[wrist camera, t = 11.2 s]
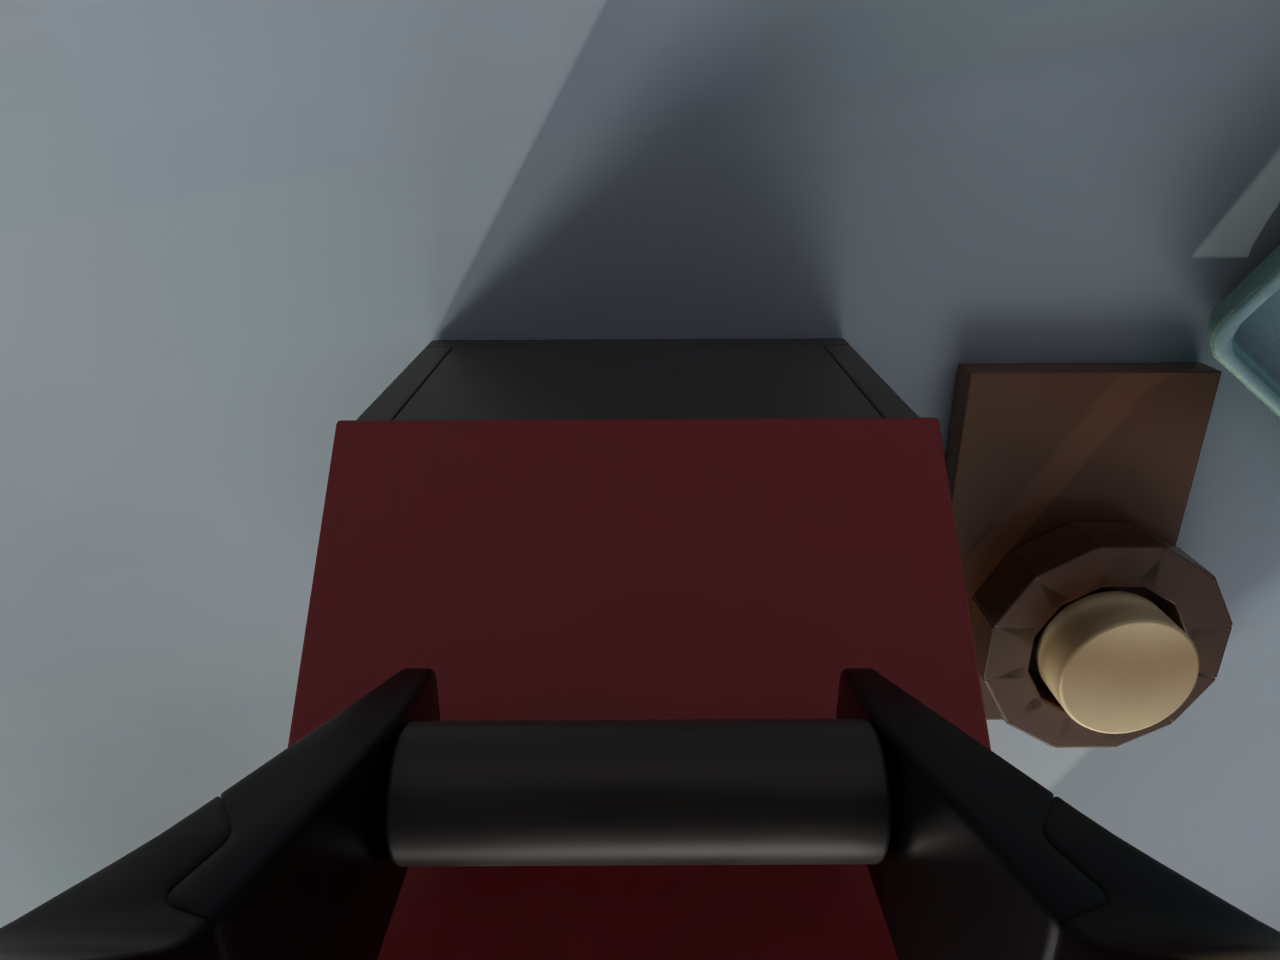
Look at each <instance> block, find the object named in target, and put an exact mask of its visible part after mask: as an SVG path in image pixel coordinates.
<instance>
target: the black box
mask: <svg viewBox="0 0 1280 960" xmlns="http://www.w3.org/2000/svg"><path fill="white" fill-rule="evenodd" d="M771 418H919V417H918V416H917V415H916V414H915V413H914V412H913V411H912V410H911V409H910V408H909V407H908V405H907V404H906V403H905V402H904V401H903V400H902V399H901V398H900V397H899V396H898V395H897V394H896V393H895V392H894V391H893V390H892V389H891V388H890V387H889V386H888V385H887V384H886V383H885V381H884V380H883V379H882V378H881V377H880V376H879V375H878V374H877V373H876V372H875V371H874V370H873V369H872V368H871V367H870V366H869V365H868V364H867V363H866V362H865V361H864V360H863V359H862V358H861V356H860V355H859V354H858V353H857V352H856V351H855V350H854V349H853V348H852V347H851V346H850V345H849V344H848V343H847V342H846V341H845V339H655V340H451V341H431V342H430V343H429V345H428V346H427V347H426V348H425V349H424V350H423V351H422V352H421V353H420V354H419V355H418V356H417V357H416V358H415V359H414V360H413V361H412V362H411V363H410V364H409V365H408V367H407V368H406V369H405V370H404V371H403V372H402V373H401V374H400V375H399V376H398V377H397V378H396V379H395V380H394V381H393V382H392V383H391V384H390V385H389V386H388V387H387V389H386V390H385V391H384V392H383V393H382V394H381V395H380V396H379V397H378V398H377V399H376V400H375V401H374V402H373V403H372V404H371V405H370V406H369V407H368V408H367V409H366V410H365V412H364V413H363V414H362V415H361V416H360V417H359V418H358V419H357V420H356V421H361V420H566V419H771Z"/></svg>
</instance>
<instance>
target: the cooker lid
mask: <svg viewBox="0 0 1280 960" xmlns="http://www.w3.org/2000/svg"><path fill="white" fill-rule="evenodd" d="M405 668H430V669H432V670H433V671H434V672H435V674H436V679H437V689H438V699H439V710H440V721H411V722H409V723H407V724H406V725H405V726H404V727H403V728H402V730H401V732H400V734H399V736H398V738H397V741H396V744H395V747H394V750H393V753H392V758H391V762H390V767H389V772H388V779H387V787H386V798H385V831H386V840H387V845H388V850H389V854H390V857H391V859H392V861H393V862H394V863H395V864H396V865H399V866H402V867H408V870H407V873H406V876H405V879H404V882H403V885H402V888H401V890H400V893H399V896H398V899H397V902H396V905H395V908H394V911H393V914H392V917H391V920H390V923H389V926H388V929H387V932H386V935H385V938H384V941H383V944H382V947H381V950H380V952H379V955H378V958H377V960H898V958H897V955H896V952H895V949H894V946H893V943H892V940H891V937H890V934H889V931H888V928H887V925H886V922H885V919H884V916H883V913H882V910H881V907H880V904H879V901H878V898H877V895H876V892H875V889H874V886H873V883H872V880H871V877H870V874H869V871H868V868H867V865H866V864H878V863H880V862H882V861H883V860H884V858H885V857H886V854H887V851H888V847H889V841H890V834H891V816H892V812H891V792H890V783H889V775H888V769H887V764H886V759H885V755H884V751H883V748H882V744H881V742H880V739H879V736H878V734H877V732H876V729H875V728H874V726H873V725H872V723H871V722H869V721H868V720H865V719H862V718H856V719H836V711H837V701H838V690H839V680H840V675H841V672H842V671H843V670H844V669H846V668H871V669H873V670H875V671H877V672H878V673H880V674H881V675H882V676H884V677H885V678H887V679H888V680H890V681H891V682H893V683H894V684H895V685H897V686H898V687H900V688H901V689H903V690H904V691H906V692H907V693H908V694H910V695H911V696H913V697H914V698H916V699H917V700H919V701H920V702H921V703H923V704H924V705H926V706H927V707H929V708H930V709H932V710H933V711H934V712H936V713H937V714H939V715H940V716H942V717H943V718H945V719H946V720H947V721H949V722H950V723H952V724H953V725H955V726H956V727H958V728H959V729H960V730H962V731H963V732H965V733H966V734H968V735H969V736H971V737H972V738H973V739H975V740H976V741H978V742H979V743H981V744H982V745H984V746H985V747H986V748H988V749H989V750H991V748H990V741H989V735H988V729H987V722H986V716H985V710H984V703H983V697H982V691H981V684H980V678H979V672H978V665H977V659H976V653H975V646H974V640H973V634H972V627H971V621H970V615H969V608H968V602H967V596H966V589H965V583H964V577H963V571H962V564H961V558H960V552H959V545H958V539H957V533H956V526H955V520H954V514H953V507H952V501H951V495H950V488H949V482H948V476H947V469H946V463H945V457H944V450H943V444H942V438H941V431H940V425H939V420H938V419H937V418H771V419H566V420H361V421H338V422H337V424H336V431H335V438H334V444H333V451H332V457H331V464H330V471H329V477H328V484H327V491H326V497H325V504H324V511H323V517H322V524H321V531H320V537H319V544H318V551H317V557H316V564H315V571H314V577H313V584H312V591H311V597H310V604H309V611H308V617H307V624H306V630H305V637H304V644H303V650H302V657H301V664H300V670H299V677H298V684H297V690H296V697H295V704H294V710H293V717H292V724H291V730H290V737H289V744H288V748H289V747H290V746H292V745H293V744H294V743H296V742H297V741H299V740H300V739H302V738H303V737H305V736H306V735H308V734H309V733H310V732H312V731H313V730H315V729H316V728H318V727H319V726H321V725H322V724H324V723H325V722H327V721H328V720H329V719H331V718H332V717H334V716H335V715H337V714H338V713H340V712H341V711H343V710H344V709H345V708H347V707H348V706H350V705H351V704H353V703H354V702H356V701H357V700H359V699H360V698H361V697H363V696H364V695H366V694H367V693H369V692H370V691H372V690H373V689H375V688H376V687H378V686H379V685H380V684H382V683H383V682H385V681H386V680H388V679H389V678H391V677H392V676H394V675H395V674H396V673H398V672H399V671H401V670H403V669H405Z"/></svg>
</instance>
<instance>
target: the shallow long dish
mask: <svg viewBox="0 0 1280 960" xmlns="http://www.w3.org/2000/svg"><path fill="white" fill-rule="evenodd" d="M1208 340H1209V345H1210V349H1211V352H1212V354H1213V356H1214V358H1215V359H1216V360H1217V361H1219V362H1220V363H1221V364H1222V365H1223V366H1224V367H1225V368H1227V369H1228V370H1229V371H1230V372H1231V373H1232V374H1233V375H1234V376H1235V377H1237V378H1238V379H1239V380H1240V381H1241V382H1242V383H1243V384H1244V385H1245V386H1246V387H1247V388H1248V389H1249V390H1250V391H1252V392H1253V393H1254V394H1255V395H1256V396H1257V397H1258V398H1259V399H1260V400H1261V401H1262V402H1263V403H1265V404H1266V405H1267V406H1268V407H1269V408H1270V409H1271V410H1272V411H1273V412H1274V413H1275V414H1277V415H1278V416H1279V417H1280V244H1279V245H1278V246H1277V247H1276V248H1275V249H1274V250H1273V251H1272V252H1271V253H1270V254H1269V255H1268V256H1267V257H1266V258H1265V259H1264V260H1263V261H1262V262H1261V263H1260V264H1259V265H1257V266H1256V267H1255V268H1254V269H1253V270H1252V271H1251V272H1250V273H1249V274H1248V275H1247V276H1246V277H1245V278H1244V279H1243V280H1242V281H1241V282H1240V283H1239V284H1238V285H1237V286H1236V287H1235V288H1234V289H1233V290H1232V291H1231V292H1230V293H1229V294H1228V295H1227V296H1226V297H1225V298H1224V299H1223V300H1222V301H1221V302H1220V303H1219V304H1218V305H1217V306H1216V308H1215V309H1214V311H1213V312H1212V314H1211V315H1210V318H1209V322H1208Z"/></svg>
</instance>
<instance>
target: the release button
mask: <svg viewBox="0 0 1280 960" xmlns="http://www.w3.org/2000/svg"><path fill="white" fill-rule="evenodd" d="M1036 663H1037V668H1038V671H1039V674H1040V676H1041V678H1042V679H1043V681H1044V683H1045V684H1046V685H1047V687H1048V688H1049V689H1050V691H1051V692H1052V694H1053V695H1054V696H1055V698H1056V699H1057V700H1058V702H1059V703H1060V705H1061V706H1062V707H1063V709H1064V710H1065V711H1066V713H1067V714H1068V715H1069V716H1070V717H1071V718H1072V719H1073V720H1074V721H1075V722H1077V723H1078V724H1080V725H1082V726H1084V727H1086V728H1088V729H1090V730H1094V731H1097V732H1102V733H1111V734H1119V733H1129V732H1134V731H1138V730H1142V729H1144V728H1147V727H1150V726H1152V725H1154V724H1156V723H1158V722H1160V721H1162V720H1163V719H1165V718H1167V717H1168V716H1169V715H1171V714H1172V713H1173V712H1175V711H1176V710H1177V709H1178V708H1179V707H1180V706H1181V705H1182V704H1183V703H1184V702H1185V700H1186V699H1187V698H1188V696H1189V695H1190V693H1191V692H1192V690H1193V688H1194V686H1195V683H1196V681H1197V678H1198V673H1199V656H1198V653H1197V649H1196V647H1195V645H1194V643H1193V641H1192V640H1191V638H1190V637H1189V636H1188V635H1187V634H1186V633H1185V632H1184V631H1183V630H1182V629H1181V628H1180V627H1179V626H1178V625H1177V624H1176V623H1174V622H1173V621H1172V620H1171V619H1170V618H1169V617H1168V616H1167V615H1166V614H1165V613H1164V612H1163V611H1162V610H1160V609H1159V608H1158V607H1157V606H1156V605H1155V604H1154V603H1153V602H1151V601H1150V600H1148V599H1147V598H1145V597H1142V596H1140V595H1137V594H1134V593H1130V592H1124V591H1104V592H1099V593H1094V594H1091V595H1087V596H1085V597H1082V598H1080V599H1078V600H1076V601H1074V602H1072V603H1071V604H1069V605H1067V606H1066V607H1064V608H1063V609H1062V610H1061V611H1059V612H1058V613H1057V614H1056V615H1055V616H1054V617H1053V618H1052V619H1051V620H1050V622H1049V623H1048V624H1047V626H1046V627H1045V629H1044V630H1043V632H1042V634H1041V636H1040V639H1039V642H1038V645H1037V651H1036Z"/></svg>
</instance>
